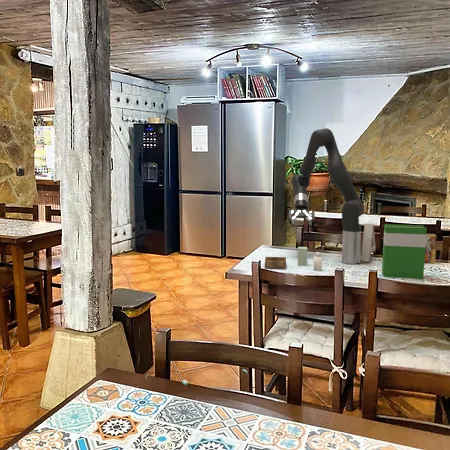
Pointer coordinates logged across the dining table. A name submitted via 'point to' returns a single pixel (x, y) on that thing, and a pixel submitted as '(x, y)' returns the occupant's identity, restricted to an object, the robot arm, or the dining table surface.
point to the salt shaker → (318, 261)
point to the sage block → (302, 256)
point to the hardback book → (404, 251)
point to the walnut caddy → (275, 262)
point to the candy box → (430, 248)
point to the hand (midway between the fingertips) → (301, 226)
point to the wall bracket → (368, 243)
